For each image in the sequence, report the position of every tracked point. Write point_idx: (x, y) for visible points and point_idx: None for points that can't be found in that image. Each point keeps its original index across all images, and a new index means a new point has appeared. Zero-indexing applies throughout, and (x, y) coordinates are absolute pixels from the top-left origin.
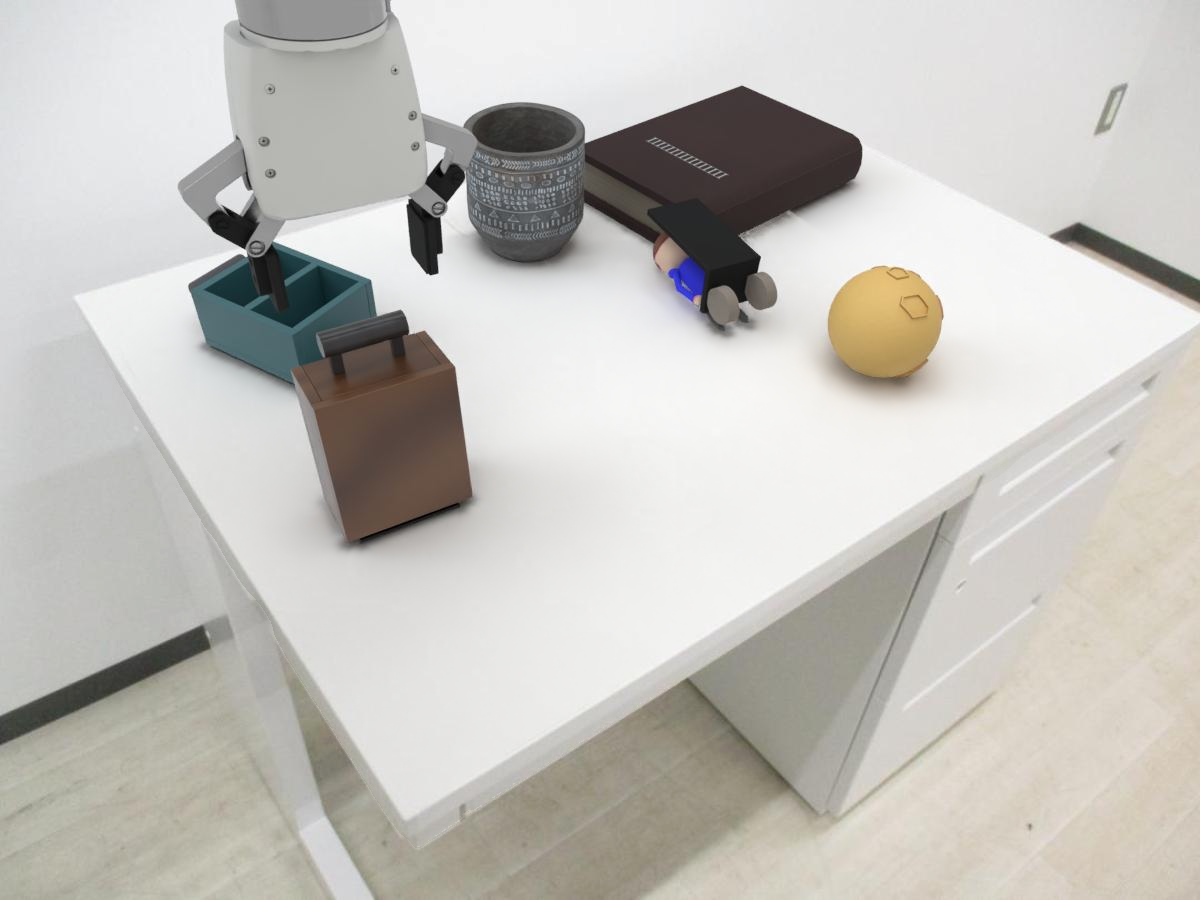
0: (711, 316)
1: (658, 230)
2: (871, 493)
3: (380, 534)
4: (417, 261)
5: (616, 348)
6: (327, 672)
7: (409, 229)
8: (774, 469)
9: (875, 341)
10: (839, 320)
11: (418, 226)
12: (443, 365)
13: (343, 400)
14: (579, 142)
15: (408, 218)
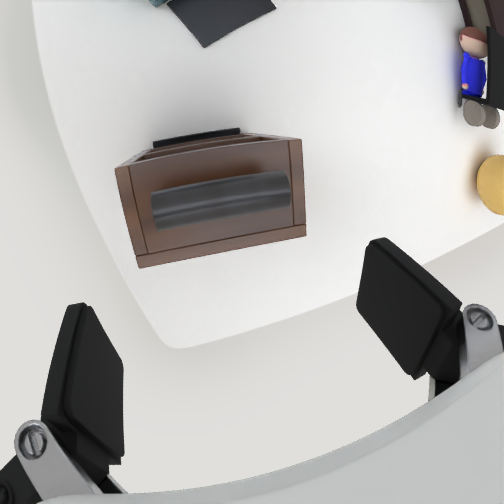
0: (461, 95)
1: (469, 9)
2: (429, 249)
3: None
4: (363, 271)
5: (410, 78)
6: (135, 289)
7: (400, 277)
8: (415, 222)
9: (493, 205)
10: (496, 183)
11: (407, 344)
12: (296, 229)
13: (172, 261)
14: None
15: (417, 295)
